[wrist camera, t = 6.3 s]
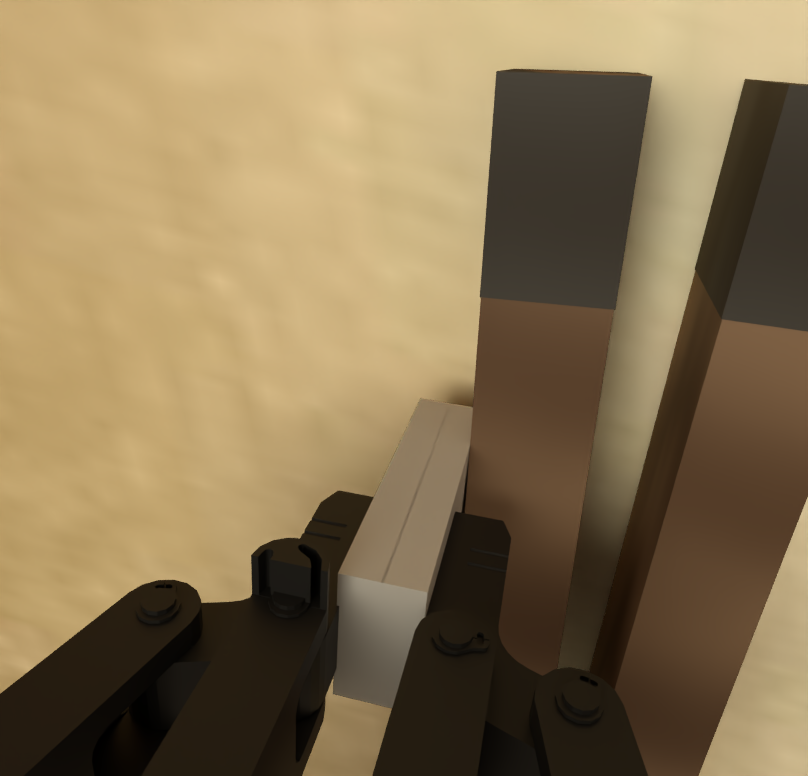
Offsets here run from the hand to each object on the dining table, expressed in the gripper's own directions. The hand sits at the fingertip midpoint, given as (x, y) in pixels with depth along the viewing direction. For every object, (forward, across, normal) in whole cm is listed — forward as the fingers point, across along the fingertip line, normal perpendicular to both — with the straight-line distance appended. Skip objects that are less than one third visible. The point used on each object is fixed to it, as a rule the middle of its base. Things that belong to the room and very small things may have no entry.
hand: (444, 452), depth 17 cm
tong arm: (+2, -2, +4) cm, 5 cm away
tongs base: (+2, -5, +8) cm, 9 cm away
